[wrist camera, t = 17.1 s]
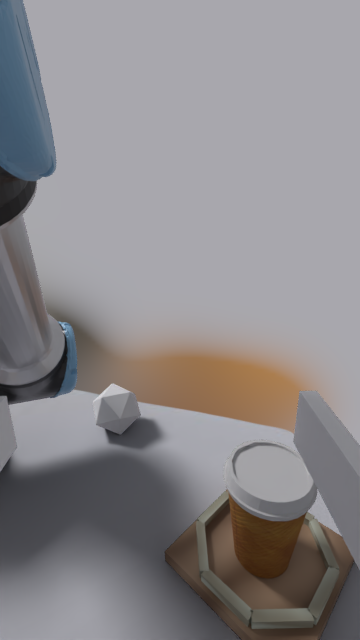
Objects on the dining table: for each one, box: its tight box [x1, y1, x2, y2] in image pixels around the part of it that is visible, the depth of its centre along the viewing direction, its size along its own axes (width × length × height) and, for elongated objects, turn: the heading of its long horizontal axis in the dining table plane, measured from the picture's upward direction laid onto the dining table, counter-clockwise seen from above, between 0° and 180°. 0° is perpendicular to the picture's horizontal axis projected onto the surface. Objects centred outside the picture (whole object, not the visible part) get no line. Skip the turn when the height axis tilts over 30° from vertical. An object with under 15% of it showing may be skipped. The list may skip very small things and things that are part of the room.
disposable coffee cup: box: [223, 440, 317, 579], centre depth 35 cm, size 10×10×12 cm
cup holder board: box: [165, 489, 354, 640], centre depth 37 cm, size 16×16×2 cm
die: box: [93, 383, 141, 435], centre depth 61 cm, size 8×9×10 cm
